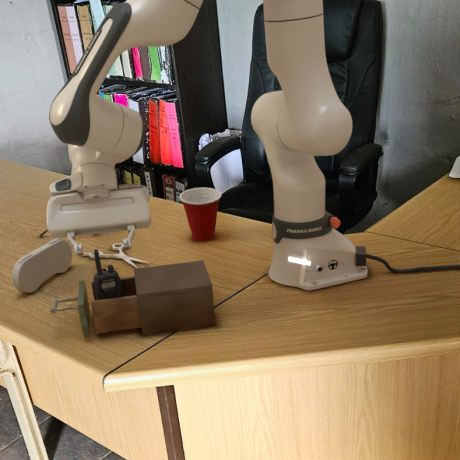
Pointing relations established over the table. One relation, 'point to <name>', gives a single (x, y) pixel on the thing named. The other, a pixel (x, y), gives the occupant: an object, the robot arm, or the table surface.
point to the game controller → (41, 265)
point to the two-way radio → (106, 281)
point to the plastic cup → (201, 211)
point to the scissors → (120, 255)
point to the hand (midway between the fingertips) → (103, 251)
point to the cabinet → (174, 297)
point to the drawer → (105, 309)
